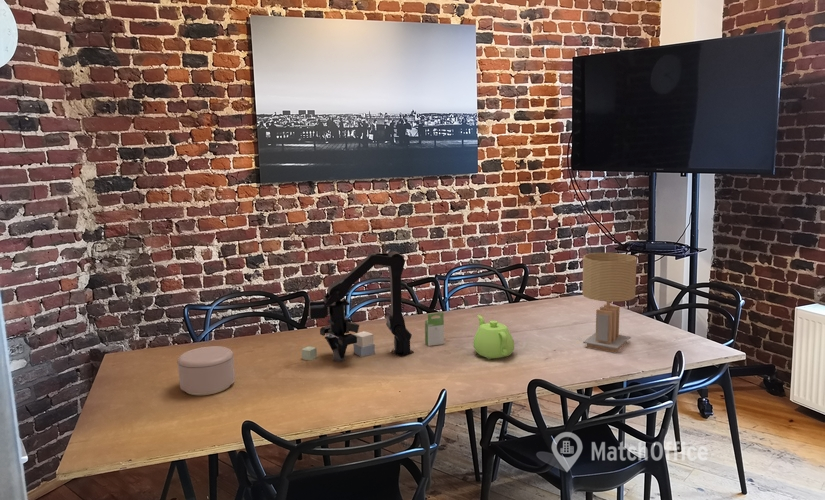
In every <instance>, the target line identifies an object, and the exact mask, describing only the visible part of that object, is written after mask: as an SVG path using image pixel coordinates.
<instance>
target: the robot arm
mask: <svg viewBox="0 0 825 500" xmlns="http://www.w3.org/2000/svg"><path fill="white" fill-rule="evenodd" d="M375 266H383V267H384V266H385V267H387V269H388V270H387V271H388V272H389V273H388V274H389V284H390V285H389V287H390V289H389V290H390V291H389V293H390V312H389V314H388V315H387V314H386V315H385V318H386V324H385V325H386V327H387V328H388V330H389V331H390V333H391V334H392V335H393V338H394V340H393V343H394V345H393V346H394V347H393V350H391V353H393V354H394V355H397V356H399V357H402V356H406V355H410V354H414V350H411V339H412V333H411V332H410V331H409V330H408V329H407V327H406V321H405V318H404V316H403V311H402V310H403V309H402V308H403V305H402V297H403V296H402V275H403V271H404V266H405V257H404V256H403V255H402V254H400V253H399V252H398V251H394V250H393V251H390V252H379V253H377V252H376V253H374V252H370V253H368V255H367V256H366V257H365V258H364V259H363V260H362V261H361V262H359V263H358V264H357V265H356V266H355V267H354V268H353V269H351V271H350V272H348V273H346V275H344V276H343V277H342V278H339V279H337V280H335V281H333V282H332V283H331V284H329V286H328V287H327V292H326V294H325V296H324V297H323V298H322V300H310V301H309V303H308V304H309V305H308V307H309V308H308V315H309V320H311V321H312V320H321V319H323V320H324V319H326V318H327V317H328V316H329V319H327V323H329V325H325V326H322V327H321V328H320V329H319V334H320V335H321V336H322V337H324V339H325V340H326V342H327V344H328V345H329V347H330V349H331V351H332V352H333V349H335V348H337V350H338V353H339V355H340V358H341V359H342V358H344V355H345V356H346V352H347V348H348V346H350V345H353V344H354V343H357V337H356V336H355V335H354V334H356V333H359V329H360V324H358V323H355V322H353V321H352V319H351V318H349V317H348V318H346V315H345V313H346V312H345V311H346V310H345V306H350V302H349V301H348V300H347V299H346V298H345V296H346V295H347V294H348V293H349V291H350V290H351V287H352V286H353V285H354V284H355V283H357V282H358V281H359V280H360V279H361V278H363V276H365V274H367V273H368V272H369V271H370V270H371V269H372V268H373V267H375ZM350 332H352V333H354V334H352V333H350Z"/></svg>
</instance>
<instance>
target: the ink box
mask: <svg viewBox="0 0 825 500" xmlns="http://www.w3.org/2000/svg"><path fill="white" fill-rule="evenodd" d="M436 316H438V317H436ZM433 317H434V318H433ZM444 318H445V317H444V312H442V311H441V312H435V313H434V312H433V313H428V314H427V320H426V319H425V320H424V341H425V342H424V343H425V345H426V346H428V347H431V346H432V347H433V346H437V345H439V346H440V345H445V324H444V323H445V322H444Z"/></svg>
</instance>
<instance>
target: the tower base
mask: <svg viewBox="0 0 825 500" xmlns="http://www.w3.org/2000/svg"><path fill="white" fill-rule="evenodd" d="M352 345H353V353H354V354H355V355H357V356H358V357H360V358H364V357H368V356H372V355H375V354H376V351H375V350H376V348H375V346H376V345H375V343H374V344H372V345H368V346H365V347H361V346H358V345H355V344H352Z"/></svg>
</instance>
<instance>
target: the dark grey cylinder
mask: <svg viewBox="0 0 825 500" xmlns="http://www.w3.org/2000/svg"><path fill="white" fill-rule="evenodd" d="M332 356H333V358H332V359H333V362H335V363H342V362H344V361H346V354H345V355H344V358H342V359H341V358H340V355H339V353H338V350H337V348H335V349H333V351H332Z"/></svg>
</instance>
